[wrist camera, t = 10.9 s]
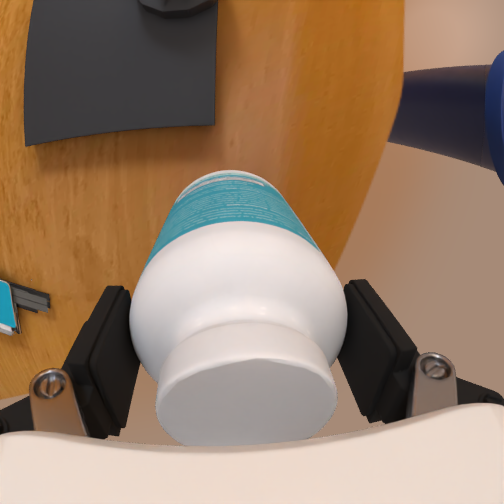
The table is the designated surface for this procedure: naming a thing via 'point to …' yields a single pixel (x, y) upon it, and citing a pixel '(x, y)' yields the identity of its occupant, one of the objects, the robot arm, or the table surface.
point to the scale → (118, 66)
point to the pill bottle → (238, 317)
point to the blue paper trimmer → (18, 304)
